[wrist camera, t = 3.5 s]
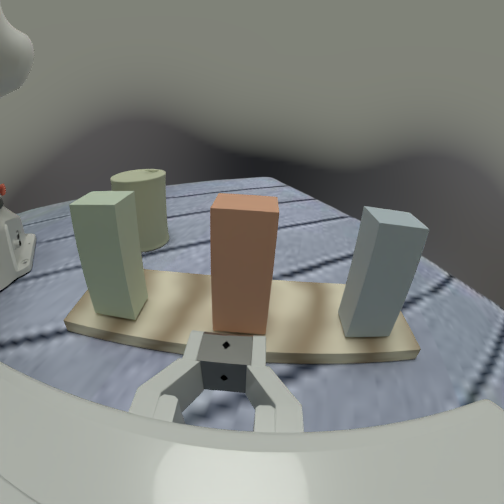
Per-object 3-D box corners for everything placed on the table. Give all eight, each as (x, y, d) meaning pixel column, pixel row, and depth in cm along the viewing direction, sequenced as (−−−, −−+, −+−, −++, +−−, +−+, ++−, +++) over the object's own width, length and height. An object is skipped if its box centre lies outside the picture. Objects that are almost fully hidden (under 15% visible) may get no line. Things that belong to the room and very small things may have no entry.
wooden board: (67, 330, 25) (62, 317, 24) (110, 274, 36) (107, 262, 35) (415, 358, 25) (422, 346, 24) (383, 294, 35) (387, 283, 34)
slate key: (345, 336, 26) (379, 222, 20) (338, 311, 29) (364, 206, 24) (389, 336, 26) (429, 229, 20) (378, 312, 29) (409, 212, 24)
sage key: (95, 312, 26) (69, 204, 20) (110, 291, 30) (91, 191, 24) (135, 319, 26) (114, 204, 20) (148, 296, 29) (134, 191, 24)
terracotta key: (212, 330, 26) (210, 208, 20) (218, 304, 29) (218, 193, 24) (265, 334, 26) (279, 212, 20) (265, 308, 29) (277, 197, 24)
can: (180, 238, 47) (177, 169, 42) (137, 258, 40) (129, 181, 35) (148, 225, 52) (143, 164, 46) (108, 242, 45) (100, 175, 39)
